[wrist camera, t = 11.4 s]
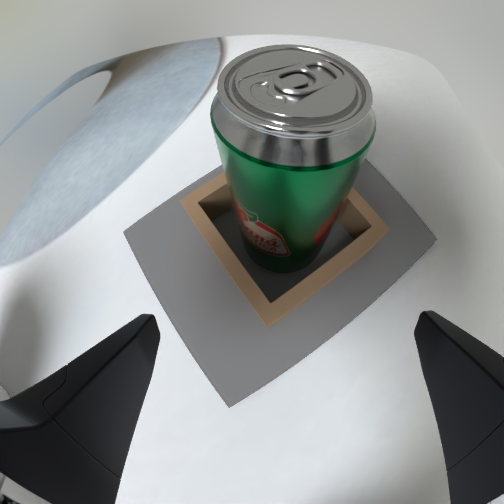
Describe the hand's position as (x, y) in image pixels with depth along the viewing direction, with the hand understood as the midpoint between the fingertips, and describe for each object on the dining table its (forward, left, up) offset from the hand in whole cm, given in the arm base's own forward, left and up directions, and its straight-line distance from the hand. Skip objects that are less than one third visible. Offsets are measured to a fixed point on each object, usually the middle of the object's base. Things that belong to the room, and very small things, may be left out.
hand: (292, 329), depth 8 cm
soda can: (+4, +5, -8) cm, 10 cm away
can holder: (+4, +5, -8) cm, 10 cm away
